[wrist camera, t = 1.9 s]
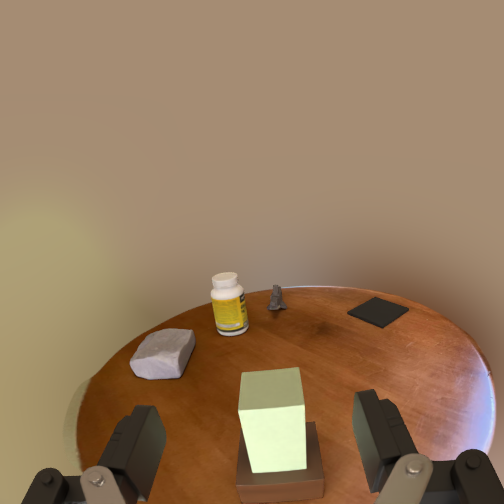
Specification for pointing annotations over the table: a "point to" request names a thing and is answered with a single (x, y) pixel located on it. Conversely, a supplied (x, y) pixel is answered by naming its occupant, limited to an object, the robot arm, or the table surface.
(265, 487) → the walnut block
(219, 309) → the pill bottle
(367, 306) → the mat
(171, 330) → the stone block
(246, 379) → the sage block
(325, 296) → the table surface
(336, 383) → the table surface
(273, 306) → the animal figurine
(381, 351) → the table surface
